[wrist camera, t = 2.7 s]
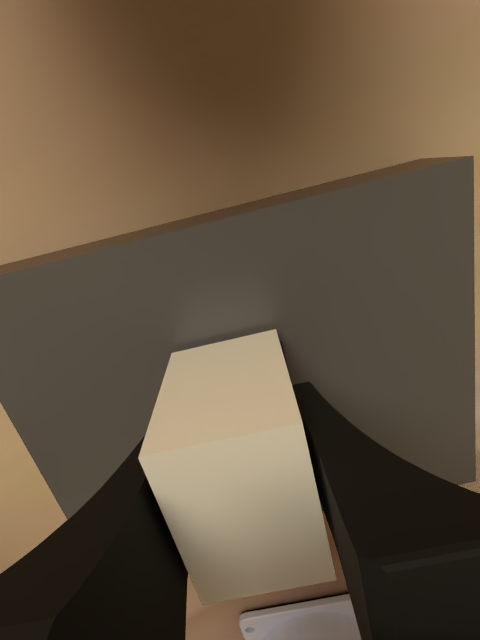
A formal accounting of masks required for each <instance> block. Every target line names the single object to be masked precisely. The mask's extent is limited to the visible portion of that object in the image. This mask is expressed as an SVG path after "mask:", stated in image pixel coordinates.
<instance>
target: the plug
mask: <svg viewBox="0 0 480 640" xmlns="http://www.w3.org/2000/svg"><path fill="white" fill-rule="evenodd" d="M138 459H139V461H140V463H141V466H142V468H143V470H144V473H145V475H146V477H147V479H148V482H149V484H150V486H151V489H152V491H153V493H154V496H155V498H156V500H157V502H158V505H159V507H160V509H161V512H162V514H163V516H164V518H165V521H166V523H167V525H168V528H169V530H170V532H171V534H172V537H173V539H174V541H175V544H176V546H177V548H178V551H179V553H180V555H181V557H182V560H183V562H184V564H185V567H186V569H187V571H188V573H189V576H190V578H191V580H192V583H193V585H194V587H195V589H196V592H197V594H198V596H199V599H200V601H201V603H202V605H205V604H211V603H216V602H222V601H227V600H233V599H238V598H244V597H249V596H255V595H260V594H266V593H271V592H276V591H282V590H287V589H293V588H298V587H304V586H309V585H315V584H320V583H326V582H331V581H337V579H336V574H335V570H334V565H333V561H332V556H331V551H330V547H329V542H328V538H327V533H326V528H325V524H324V519H323V514H322V510H321V505H320V501H319V496H318V491H317V487H316V482H315V478H314V473H313V468H312V464H311V459H310V455H309V450H308V445H307V441H306V436H305V432H304V427H303V423H302V419H301V415H300V412H299V408H298V405H297V401H296V398H295V394H294V391H293V387H292V384H291V380H290V377H289V373H288V370H287V366H286V363H285V359H284V356H283V352H282V348H281V345H280V341H279V338H278V334H277V331H276V329H274V330H270V331H265V332H261V333H257V334H252V335H248V336H243V337H239V338H235V339H230V340H226V341H222V342H217V343H213V344H209V345H204V346H200V347H196V348H191V349H187V350H182V351H178V352H174V353H171V357H170V360H169V363H168V366H167V369H166V372H165V375H164V379H163V382H162V385H161V388H160V391H159V394H158V397H157V401H156V404H155V407H154V410H153V413H152V416H151V419H150V422H149V426H148V429H147V432H146V435H145V438H144V441H143V444H142V448H141V451H140V454H139V457H138Z"/></svg>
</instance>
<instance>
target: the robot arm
mask: <svg viewBox="0 0 480 640" xmlns="http://www.w3.org/2000/svg"><path fill="white" fill-rule="evenodd" d="M292 387H293V391H294V394H295V398H296V401H297V405H298V408H299V412H300V415H301V419H302V423H303V427H304V432H305V436H306V441H307V445H308V450H309V455H310V459H311V464H312V468H313V473H314V478H315V482H316V487H317V491H318V496H319V500H320V502H321V505H322V508H323V511H324V513H325V516H326V519H327V522H328V524H329V527H330V530H331V533H332V535H333V538H334V541H335V545H336V548H337V551H338V554H339V558H340V561H341V565H342V569H343V573H344V576H345V580H346V584H347V587H348V591H349V594H345V595H340V596H334V597H329V598H323V599H318V600H312V601H306V602H301V603H295V604H290V605H284V606H279V607H273V608H267V609H262V610H256V611H251V612H245V613H243V614H241V615H240V617H239V626H240V629H241V631H242V634H243V636H244V639H245V640H480V494H479V493H476V492H473V491H470V490H468V489H465V488H463V487H460V486H458V485H456V484H454V483H451V482H449V481H447V480H444V479H442V478H440V477H437V476H435V475H433V474H431V473H429V472H427V471H425V470H423V469H421V468H419V467H418V466H416V465H414V464H412V463H410V462H408V461H406V460H404V459H402V458H401V457H399V456H397V455H396V454H394V453H392V452H391V451H389V450H388V449H386V448H385V447H383V446H382V445H380V444H378V443H377V442H376V441H374V440H373V439H371V438H370V437H369V436H367V435H366V434H365V433H363V432H362V431H361V430H359V429H358V428H357V427H356V426H354V425H353V424H352V423H351V422H349V421H348V420H347V419H346V418H345V417H344V416H343V415H341V414H340V413H339V412H338V411H337V410H336V409H335V408H334V407H333V406H332V405H331V404H330V403H329V402H328V401H327V400H326V399H325V398H324V397H323V396H322V395H321V394H320V393H319V392H318V391H317V389H316V388H315V387H314V386H313V384H312V383H310V382H304V383H299V384H295V385H292ZM145 435H146V434H145ZM144 438H145V436H144V437H143V438H142V440H141V441H140V442H139V443H138V445H137V446H136V447H135V448H134V450H133V451H132V452H131V453H130V455H129V456H128V457H127V458H126V460H125V461H124V462H123V463H122V464H121V465H120V466H119V468H118V469H117V470H116V471H115V472H114V473H113V475H112V476H111V477H110V478H109V479H108V480H107V481H106V483H105V484H104V485H103V486H102V487H101V488H100V489H99V490H98V491H97V492H96V493H95V494H94V495H93V496H92V497H91V498H90V499H89V500H88V501H87V502H86V503H85V504H84V505H83V506H82V507H81V508H80V509H79V510H78V511H77V512H76V513H75V514H74V515H73V516H72V517H71V518H69V519H68V520H67V521H66V522H65V523H64V524H62V525H61V526H60V527H59V528H58V529H57V530H55V531H54V532H53V533H52V534H51V535H50V536H49V537H47V538H46V539H45V540H44V541H43V542H42V543H40V544H39V545H38V546H37V547H35V548H34V549H33V550H32V551H30V552H29V553H28V554H26V555H25V556H24V557H23V558H21V559H20V560H19V561H17V562H16V563H15V564H13V565H12V566H11V567H9V568H8V569H7V570H5V571H4V572H2V573H1V574H0V640H185V627H186V599H187V578H188V571H187V569H186V567H185V564H184V562H183V560H182V557H181V555H180V553H179V551H178V548H177V546H176V544H175V541H174V539H173V537H172V534H171V532H170V530H169V528H168V525H167V523H166V521H165V518H164V516H163V514H162V512H161V509H160V507H159V505H158V502H157V500H156V498H155V496H154V493H153V491H152V489H151V486H150V484H149V482H148V479H147V477H146V475H145V473H144V470H143V468H142V466H141V463H140V461H139V459H138V457H139V454H140V451H141V448H142V444H143V441H144Z"/></svg>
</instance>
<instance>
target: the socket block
mask: <svg viewBox="0 0 480 640" xmlns="http://www.w3.org/2000/svg"><path fill="white" fill-rule="evenodd" d="M274 329H276V331H277V334H278V338H279V341H280V345H281V348H282V352H283V356H284V359H285V363H286V366H287V370H288V373H289V377H290V380H291V384H292V385H295V384H299V383H304V382H310V383H312V384H313V386H314V387H315V388H316V389H317V391H318V392H319V393H320V394H321V395H322V396H323V397H324V398H325V399H326V400H327V401H328V402H329V403H330V404H331V405H332V406H333V407H334V408H335V409H336V410H337V411H338V412H339V413H340V414H341V415H343V416H344V417H345V418H346V419H347V420H348V421H349V422H351V423H352V424H353V425H354V426H356V427H357V428H358V429H359V430H361V431H362V432H363V433H365V434H366V435H367V436H369V437H370V438H371V439H373V440H374V441H376V442H377V443H378V444H380V445H382V446H383V447H385V448H386V449H388V450H389V451H391V452H392V453H394V454H396V455H397V456H399V457H401V458H402V459H404V460H406V461H408V462H410V463H412V464H414V465H416V466H418V467H419V468H421V469H423V470H425V471H427V472H429V473H431V474H433V475H435V476H437V477H440V478H442V479H444V480H447V481H449V482H451V483H454V484H456V485H459V484H464V483H469V482H474V481H476V468H475V313H474V158H473V156H463V157H444V158H425V159H419V160H415V161H411V162H407V163H403V164H399V165H395V166H391V167H387V168H383V169H379V170H375V171H371V172H367V173H363V174H359V175H355V176H351V177H348V178H344V179H340V180H336V181H332V182H328V183H324V184H320V185H316V186H312V187H308V188H304V189H300V190H296V191H292V192H288V193H284V194H281V195H277V196H273V197H269V198H265V199H261V200H257V201H253V202H249V203H245V204H241V205H237V206H233V207H229V208H225V209H221V210H217V211H214V212H210V213H206V214H202V215H198V216H194V217H190V218H186V219H182V220H178V221H174V222H170V223H166V224H162V225H158V226H154V227H150V228H147V229H143V230H139V231H135V232H131V233H127V234H123V235H119V236H115V237H111V238H107V239H103V240H99V241H95V242H91V243H87V244H83V245H79V246H76V247H72V248H68V249H64V250H60V251H56V252H52V253H48V254H44V255H40V256H36V257H32V258H28V259H24V260H20V261H16V262H12V263H9V264H5V265H1V266H0V402H1V404H2V406H3V407H4V409H5V411H6V413H7V414H8V416H9V418H10V420H11V421H12V423H13V425H14V427H15V428H16V430H17V432H18V434H19V435H20V437H21V439H22V441H23V442H24V444H25V446H26V448H27V449H28V451H29V453H30V455H31V456H32V458H33V460H34V462H35V463H36V465H37V467H38V469H39V470H40V472H41V474H42V476H43V477H44V479H45V481H46V483H47V484H48V486H49V488H50V490H51V491H52V493H53V495H54V497H55V498H56V500H57V502H58V504H59V505H60V507H61V509H62V511H63V512H64V514H65V516H66V518H67V519H69V518H71V517H72V516H73V515H74V514H75V513H76V512H77V511H78V510H79V509H80V508H81V507H82V506H83V505H84V504H85V503H86V502H87V501H88V500H89V499H90V498H91V497H92V496H93V495H94V494H95V493H96V492H97V491H98V490H99V489H100V488H101V487H102V486H103V485H104V484H105V483H106V481H107V480H108V479H109V478H110V477H111V476H112V475H113V473H114V472H115V471H116V470H117V469H118V468H119V466H120V465H121V464H122V463H123V462H124V461H125V460H126V458H127V457H128V456H129V455H130V453H131V452H132V451H133V450H134V448H135V447H136V446H137V445H138V443H139V442H140V441H141V440H142V438H143V437H144V436H145V434H146V432H147V429H148V426H149V422H150V419H151V416H152V413H153V410H154V407H155V404H156V401H157V397H158V394H159V391H160V388H161V385H162V382H163V379H164V375H165V372H166V369H167V366H168V363H169V360H170V357H171V353H174V352H178V351H182V350H187V349H191V348H196V347H200V346H204V345H209V344H213V343H217V342H222V341H226V340H230V339H235V338H239V337H243V336H248V335H252V334H257V333H261V332H265V331H270V330H274ZM319 501H320V500H319ZM320 505H321V502H320ZM321 510H322V511H323V508H322V505H321Z"/></svg>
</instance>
